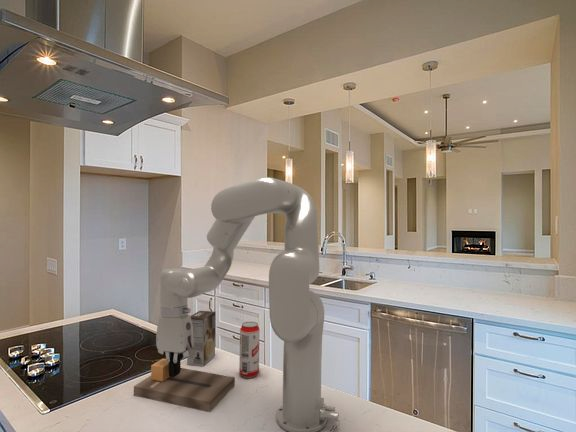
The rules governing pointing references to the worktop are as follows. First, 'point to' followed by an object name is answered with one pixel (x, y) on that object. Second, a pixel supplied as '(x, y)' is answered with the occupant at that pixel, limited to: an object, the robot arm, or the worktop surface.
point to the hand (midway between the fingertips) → (174, 374)
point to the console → (187, 389)
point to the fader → (160, 370)
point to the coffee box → (202, 338)
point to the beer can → (249, 349)
